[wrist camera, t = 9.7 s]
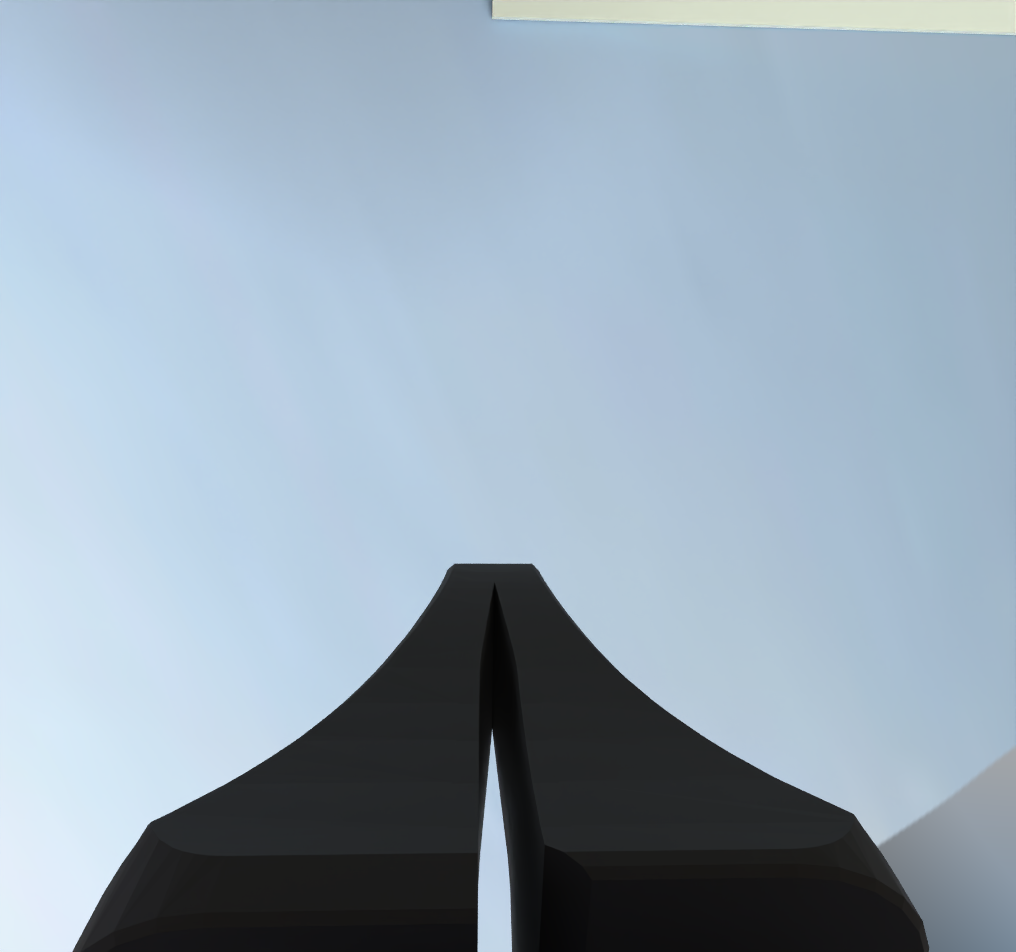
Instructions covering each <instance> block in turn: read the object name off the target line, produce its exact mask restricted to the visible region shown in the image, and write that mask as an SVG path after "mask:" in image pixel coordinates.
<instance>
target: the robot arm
mask: <svg viewBox="0 0 1016 952" xmlns="http://www.w3.org/2000/svg"><path fill="white" fill-rule="evenodd" d="M492 730H493V739H494V747H495V756H496V764H497V773H498V781H499V789H500V797H501V805H502V813H503V822H504V830H505V838H506V846H507V854H508V865H509V878H510V893H511V928H512V952H929V945H928V941H927V937H926V933H925V929H924V925H923V921H922V919H921V918H920V916H919V914H918V913H917V911H916V909H915V907H914V906H913V904H912V903H911V901H910V899H909V897H908V896H907V894H906V892H905V891H904V889H903V887H902V886H901V884H900V882H899V880H898V879H897V877H896V876H895V874H894V872H893V871H892V869H891V867H890V866H889V865H888V863H887V861H886V859H885V858H884V856H883V855H882V853H881V852H880V851H879V849H878V848H877V846H876V845H875V844H874V842H873V841H872V840H871V838H870V837H869V835H868V834H867V833H866V831H865V830H864V829H863V827H862V826H861V824H860V823H859V821H858V820H857V818H856V817H855V815H854V814H852V813H850V812H848V811H846V810H844V809H841V808H839V807H837V806H835V805H833V804H831V803H828V802H826V801H824V800H822V799H820V798H818V797H815V796H813V795H811V794H809V793H807V792H805V791H802V790H800V789H798V788H796V787H794V786H792V785H789V784H787V783H785V782H783V781H781V780H779V779H777V778H775V777H773V776H771V775H769V774H767V773H765V772H763V771H762V770H760V769H758V768H756V767H754V766H753V765H751V764H749V763H747V762H745V761H744V760H742V759H740V758H738V757H736V756H735V755H733V754H731V753H729V752H728V751H726V750H724V749H723V748H721V747H719V746H718V745H716V744H715V743H713V742H711V741H710V740H708V739H706V738H705V737H703V736H702V735H700V734H699V733H697V732H696V731H694V730H693V729H692V728H690V727H689V726H687V725H686V724H684V723H683V722H681V721H680V720H679V719H677V718H676V717H674V716H673V715H671V714H670V713H668V712H667V711H666V710H665V709H663V708H662V707H661V706H659V705H658V704H657V703H655V702H654V701H653V700H651V699H650V698H649V697H648V696H647V695H645V694H644V693H643V692H642V691H641V690H640V689H638V688H637V687H636V686H635V685H634V684H632V683H631V682H630V681H629V680H628V679H627V678H625V677H624V676H623V675H622V674H621V673H620V672H619V671H618V670H617V669H616V668H615V667H614V666H613V665H612V664H611V663H610V662H609V661H608V660H607V659H606V658H605V657H604V656H603V655H602V653H601V652H600V651H599V650H598V649H597V648H596V647H595V646H594V645H593V644H592V643H591V641H590V640H589V639H588V638H587V637H586V636H585V634H584V633H583V632H582V631H581V630H580V628H579V627H578V626H577V625H576V623H575V622H574V621H573V620H572V619H571V617H570V616H569V615H568V614H567V612H566V611H565V610H564V608H563V607H562V606H561V604H560V603H559V601H558V600H557V599H556V597H555V596H554V594H553V593H552V592H551V590H550V589H549V587H548V586H547V584H546V582H545V581H544V579H543V578H542V576H541V574H540V572H539V571H538V570H537V569H536V568H535V566H534V565H533V564H454V565H453V566H452V567H450V568H449V569H448V570H447V573H446V575H445V577H444V579H443V581H442V583H441V585H440V587H439V589H438V590H437V592H436V594H435V595H434V597H433V598H432V600H431V602H430V603H429V605H428V606H427V608H426V609H425V611H424V612H423V613H422V615H421V616H420V618H419V619H418V620H417V622H416V623H415V625H414V626H413V628H412V629H411V630H410V632H409V633H408V634H407V635H406V637H405V638H404V639H403V640H402V641H401V643H400V644H399V645H398V646H397V647H396V649H395V650H394V651H393V652H392V653H391V655H390V656H389V657H388V658H387V659H386V661H385V662H384V663H383V664H382V665H381V666H380V667H379V668H378V669H377V670H376V672H375V673H374V674H373V675H372V676H371V677H370V678H369V679H368V680H367V681H366V682H365V683H364V684H363V685H362V686H361V687H360V688H359V689H358V690H357V691H355V692H354V693H353V694H352V695H351V696H350V697H349V698H348V699H347V700H346V701H345V702H344V703H343V704H341V705H340V706H339V707H338V708H337V709H335V710H334V711H333V712H332V713H331V714H329V715H328V716H327V717H326V718H325V719H323V720H322V721H321V722H319V723H318V724H317V725H316V726H314V727H313V728H312V729H310V730H309V731H308V732H307V733H305V734H304V735H303V736H301V737H300V738H299V739H297V740H296V741H294V742H293V743H291V744H290V745H288V746H287V747H285V748H284V749H282V750H281V751H279V752H278V753H276V754H275V755H273V756H272V757H270V758H269V759H267V760H265V761H264V762H262V763H261V764H259V765H257V766H256V767H254V768H252V769H251V770H249V771H248V772H246V773H244V774H243V775H241V776H239V777H237V778H236V779H234V780H232V781H230V782H229V783H227V784H225V785H223V786H221V787H219V788H217V789H215V790H214V791H212V792H210V793H208V794H206V795H204V796H202V797H200V798H198V799H196V800H194V801H192V802H190V803H188V804H186V805H185V806H183V807H181V808H179V809H177V810H175V811H173V812H171V813H169V814H167V815H165V816H163V817H161V818H159V819H156V820H154V821H152V822H151V823H150V824H149V825H148V826H147V828H146V829H145V831H144V832H143V834H142V836H141V837H140V839H139V840H138V842H137V843H136V845H135V846H134V848H133V849H132V850H131V852H130V853H129V855H128V856H127V857H126V859H125V860H124V862H123V863H122V864H121V866H120V868H119V869H118V871H117V872H116V874H115V876H114V877H113V879H112V880H111V882H110V884H109V885H108V887H107V888H106V890H105V892H104V894H103V895H102V897H101V899H100V901H99V903H98V905H97V906H96V908H95V910H94V912H93V914H92V916H91V918H90V920H89V921H88V923H87V925H86V927H85V929H84V931H83V933H82V935H81V937H80V938H79V940H78V942H77V944H76V946H75V948H74V950H73V952H477V945H478V878H479V860H480V849H481V839H482V828H483V818H484V808H485V797H486V787H487V777H488V766H489V756H490V745H491V735H492Z"/></svg>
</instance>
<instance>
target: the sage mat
mask: <svg viewBox="0 0 1016 952" xmlns="http://www.w3.org/2000/svg"><path fill="white" fill-rule="evenodd" d="M492 19H505V20H538V21H571V22H604V23H636V24H669V25H702V26H735V27H768V28H801V29H834V30H866V31H899V32H932V33H965V34H998V35H1016V0H493V2H492Z"/></svg>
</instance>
